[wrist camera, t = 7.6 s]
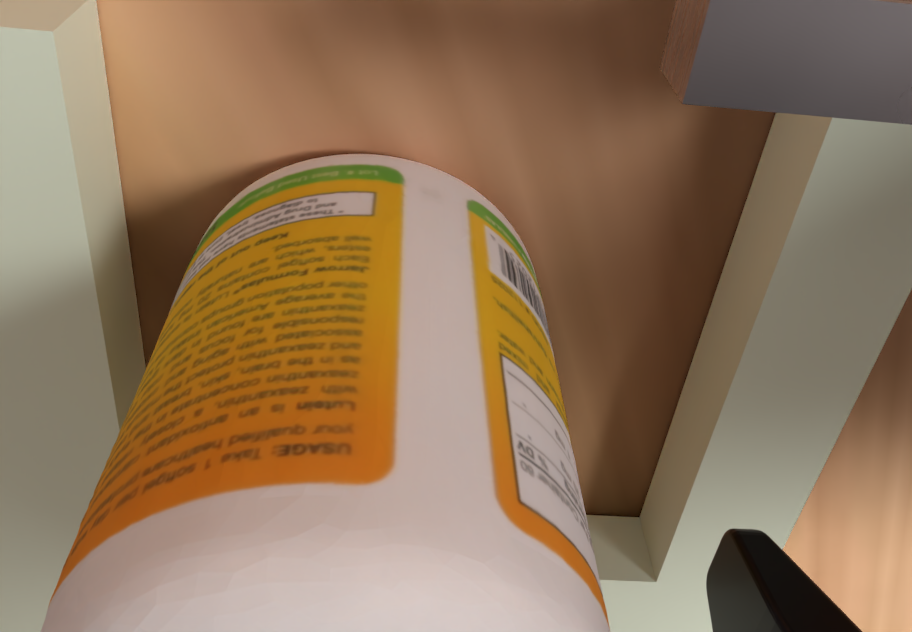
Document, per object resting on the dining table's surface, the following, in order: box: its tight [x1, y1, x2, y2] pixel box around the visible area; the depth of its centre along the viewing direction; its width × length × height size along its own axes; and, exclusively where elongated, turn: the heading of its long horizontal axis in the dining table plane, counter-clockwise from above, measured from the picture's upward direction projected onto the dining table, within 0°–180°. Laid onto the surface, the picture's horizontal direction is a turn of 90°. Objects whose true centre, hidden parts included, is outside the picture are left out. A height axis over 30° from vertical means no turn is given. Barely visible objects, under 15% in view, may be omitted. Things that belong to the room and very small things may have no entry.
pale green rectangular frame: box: [0, 0, 912, 632], centre depth 15 cm, size 16×18×2 cm
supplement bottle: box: [41, 154, 610, 632], centre depth 10 cm, size 5×5×10 cm
